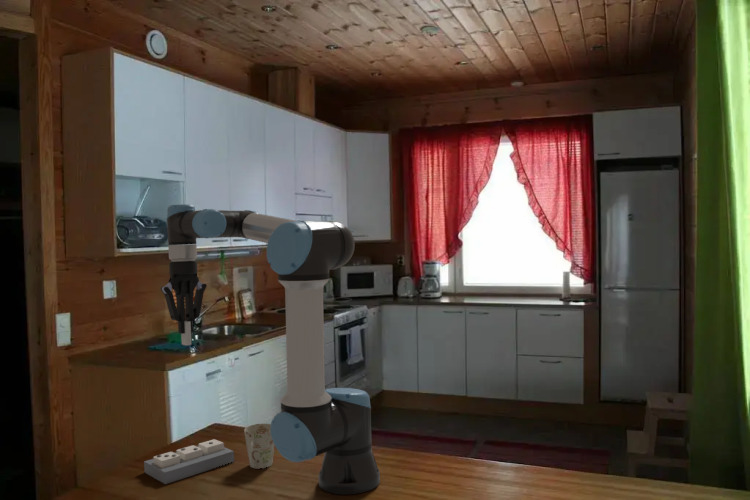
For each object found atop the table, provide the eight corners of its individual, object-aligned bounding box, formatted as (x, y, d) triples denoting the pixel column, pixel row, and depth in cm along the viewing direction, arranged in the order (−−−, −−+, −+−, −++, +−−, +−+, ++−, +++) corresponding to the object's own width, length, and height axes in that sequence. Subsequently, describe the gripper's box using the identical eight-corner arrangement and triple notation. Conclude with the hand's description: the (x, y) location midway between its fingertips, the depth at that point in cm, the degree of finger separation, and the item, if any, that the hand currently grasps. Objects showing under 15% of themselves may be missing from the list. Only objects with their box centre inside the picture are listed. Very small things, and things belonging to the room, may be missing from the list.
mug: (280, 459, 169) (278, 423, 169) (267, 477, 157) (266, 438, 156) (250, 459, 170) (249, 423, 170) (236, 476, 157) (234, 438, 157)
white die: (203, 463, 165) (202, 448, 165) (185, 468, 162) (185, 453, 162) (193, 458, 169) (193, 444, 169) (177, 463, 165) (176, 449, 165)
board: (234, 461, 168) (233, 451, 168) (165, 484, 154) (164, 472, 154) (211, 452, 177) (211, 441, 177) (144, 472, 163) (144, 461, 163)
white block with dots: (180, 470, 161) (180, 454, 161) (162, 475, 157) (161, 460, 157) (171, 465, 164) (171, 450, 164) (153, 470, 161) (153, 455, 161)
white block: (224, 456, 170) (223, 442, 170) (208, 461, 166) (207, 446, 166) (214, 452, 174) (214, 438, 173) (198, 457, 170) (198, 443, 170)
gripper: (197, 259, 177) (201, 340, 178) (154, 261, 168) (158, 346, 169) (211, 259, 172) (214, 342, 172) (167, 261, 163) (170, 349, 163)
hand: (186, 344), depth 170 cm, fingers closed
